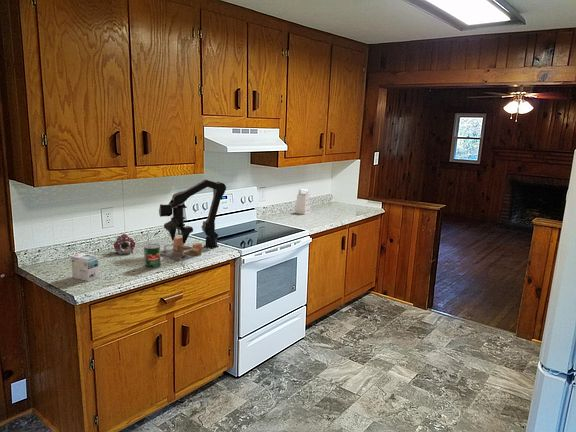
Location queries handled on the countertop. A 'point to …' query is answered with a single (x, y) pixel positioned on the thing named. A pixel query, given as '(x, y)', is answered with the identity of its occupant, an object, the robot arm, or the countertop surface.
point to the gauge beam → (190, 249)
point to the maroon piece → (124, 245)
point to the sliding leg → (175, 243)
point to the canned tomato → (152, 256)
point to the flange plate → (174, 255)
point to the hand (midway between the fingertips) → (178, 242)
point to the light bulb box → (85, 266)
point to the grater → (302, 203)
